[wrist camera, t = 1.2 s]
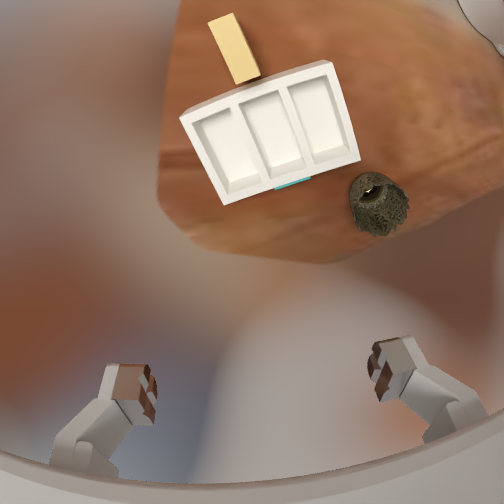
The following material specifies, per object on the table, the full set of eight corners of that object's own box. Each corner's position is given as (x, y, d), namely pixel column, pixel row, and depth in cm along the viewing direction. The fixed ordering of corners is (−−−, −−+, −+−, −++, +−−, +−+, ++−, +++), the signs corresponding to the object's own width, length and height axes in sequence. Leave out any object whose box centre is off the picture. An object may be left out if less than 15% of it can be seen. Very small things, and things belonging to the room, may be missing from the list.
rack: (323, 59, 32) (331, 62, 28) (351, 151, 39) (361, 164, 36) (186, 109, 36) (179, 117, 33) (227, 192, 43) (225, 208, 40)
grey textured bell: (397, 172, 41) (420, 200, 35) (371, 212, 45) (388, 244, 39) (355, 149, 39) (375, 174, 33) (330, 193, 43) (343, 225, 37)
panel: (237, 18, 29) (232, 12, 23) (259, 68, 33) (260, 75, 27) (216, 26, 30) (207, 22, 23) (239, 76, 34) (236, 84, 27)
